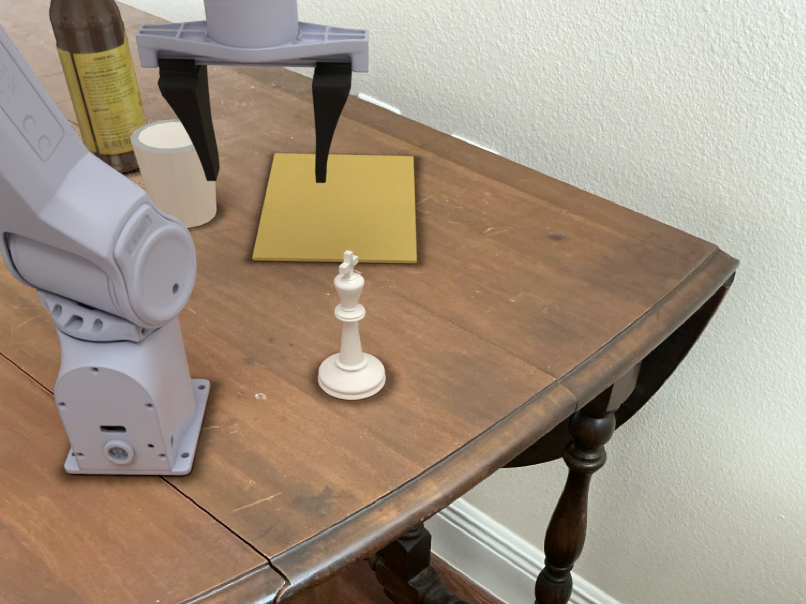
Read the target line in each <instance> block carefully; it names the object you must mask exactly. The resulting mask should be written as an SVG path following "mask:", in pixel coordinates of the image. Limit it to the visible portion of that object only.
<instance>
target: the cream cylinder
mask: <svg viewBox="0 0 806 604" xmlns="http://www.w3.org/2000/svg"><path fill="white" fill-rule="evenodd" d="M130 139H131V142H132V146H133V149H134V152H135V156H136V159H137V162H138V165H139V167H138V168H139V171H140V175H141V178H142V181H143V185H144V188H145V191H146V192H147V194H148V195H149V197H150V198H151V200H152V201H153V203H154V204H155V205H156V207H157V208H158V209H160V210H161V211H162V212H164V213H166V214H169V215H171V216H174V217H176V218H177V219H179V220H180V221H182V222H183V224H184V225H185V226H186V227H187V229H190V228H195V227H199V226H202V225H204V224H207V223H209V222H210V221H211V220H213V219H214V218H215V217H216V214H217V210H218V209H217V208H218V207H217V195H216V194H217V192H216V191H217V190H216V181H207V180H206V177H205V174H204V170H203V168H202V165H201V162H200V160H199V157H198V155H197V152H196V150H195V148H194V146H193V144H192V142H191V140H190V138H189V136H188V134H187V132H186V130H185V128H184V127H183V125H182V123H181V122H180V120H179V118H169V119H162V120H155V121H152V122H149V123H147V124H146V125H143V126H141V127H140V128H138V129H136V130H135V131H134V132H133V134H132V135H131V137H130Z"/></svg>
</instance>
